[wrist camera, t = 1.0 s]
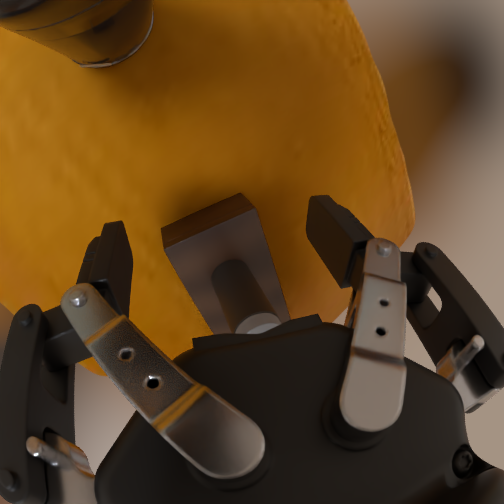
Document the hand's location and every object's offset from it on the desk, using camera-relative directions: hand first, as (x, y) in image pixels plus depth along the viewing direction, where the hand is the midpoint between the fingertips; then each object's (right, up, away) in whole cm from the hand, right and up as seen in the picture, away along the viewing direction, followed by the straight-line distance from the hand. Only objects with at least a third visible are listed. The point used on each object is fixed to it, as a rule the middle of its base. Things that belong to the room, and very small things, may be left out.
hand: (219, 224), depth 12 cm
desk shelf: (-1, -6, +27) cm, 28 cm away
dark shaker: (-1, -4, +20) cm, 20 cm away
